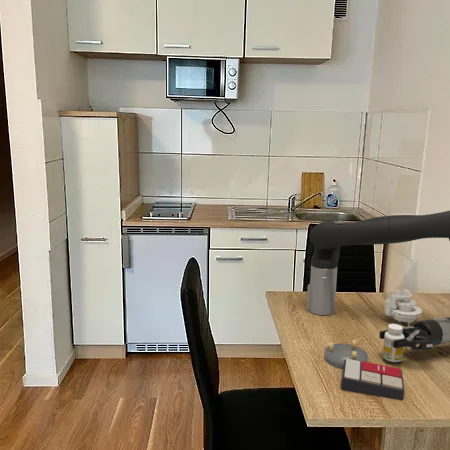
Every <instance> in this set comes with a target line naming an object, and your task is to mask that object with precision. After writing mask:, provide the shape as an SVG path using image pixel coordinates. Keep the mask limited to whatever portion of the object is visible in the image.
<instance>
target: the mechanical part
mask: <svg viewBox="0 0 450 450" xmlns="http://www.w3.org/2000/svg"><path fill="white" fill-rule="evenodd" d="M412 298H413V294H412V292H410V290H409V289H405V288H402V287H401V288H399V289H398V288H397V290H396V291H395V292H390V291H389V292H387V293H386V299H385V301H384V309H383V310H384V314H385V317H391V318H393V319H394V321H395V322H397V323H398V322H402V323H403V322H404V323H407V326H410V325H411V324H413V322H414V321H416V320H417V318H420V317H421V316H422V313H423V310H422V309H421V307H419V306H417V301H415V300H414V299H412Z"/></svg>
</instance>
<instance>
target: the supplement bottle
mask: <svg viewBox="0 0 450 450" xmlns="http://www.w3.org/2000/svg"><path fill="white" fill-rule="evenodd" d="M387 328H388V331H387V332H386V333H385V336H384V339H383V349H382V357H383V359H385V360H386V361H387V362H391V363H398V362H401V361H402V360H403V356H404V348H405V347H401V348H394V347H393V341H394V340H398V339H404V335H403V334H402V332H403V327H402V326H400V325H398V324H394V323H390V324H388V325H387Z"/></svg>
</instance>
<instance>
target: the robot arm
mask: <svg viewBox="0 0 450 450" xmlns="http://www.w3.org/2000/svg"><path fill="white" fill-rule="evenodd" d="M431 238H432V239H448V241H449V242H450V209H449V210H446V211H441V212H436V213H430V214H422V215H421V214H397V215H394V214H393V215H384V216H383V215H381V216H376V217H370V218H367V219H362V220H359V221H355V222H352V223H351V222H350V223H343V224H337V223H336V222H335V221H333V220H324V221H320V222H319V223H318V224H316V225H314V227H313V228H312V229H311V231H310V233H309V239H310V243H311V244H312V245H313V246H314V250H313V254H312V257H311V262H310V281H309V283H308V285H307V292H306V310H308V311H309V312H310V313H312V314H314V315H319V316H331V315H333V314H334V313H335V308H336V295H337V279H338V262H339V258H340V253H341V247H346V246H355V245H356V246H358V245H359V246H363V245H364V246H366V245H367V246H369V245H370V246H371V245H388V244H389V245H390V244H399V243H400V244H401V243H406V242H407V243H408V242H412V241H417V240H422V239H431ZM393 324H398V325H400V326H402V327H403V332H402V334H403V335H404V339H398V340H394V341H393V347H394V348H401V347H404V348H407V349H411V350H412V351H428V350H429V351H430V350H433V346H439V345H444V344H447V343H450V316H449V317H435V318H429V319H423V320H418V321H417V322H416V323H415V324H413V325H412V326H408V325H407V326H405V325H403V324H404V323H403V322H402V321H400V322H398V321H397V322H395V323H393ZM387 331H388V327H387V329H386V330H380V331H379V335H378V337H379V339H381V340H384V336H385V333H386V332H387Z"/></svg>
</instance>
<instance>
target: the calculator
mask: <svg viewBox="0 0 450 450" xmlns="http://www.w3.org/2000/svg"><path fill="white" fill-rule="evenodd" d="M403 377H404V376H403V370H401V368H399V367H394V366H390V365H389V366H388V365H384V364H378V363H374V362H369V361H367V362H364V361H362V362H360V361H356V360H351V359H345V360H344V367H343V369H342V377H341V385H340V390H341V391H345V392H351V393H357V394H359V393H361V394H366V395H371V396H375V397H379V398H380V397H381V398H386V399H393V400H399V401H403V399H404V396H405V395H404V394H405V386H404V385H405V384H404V378H403Z"/></svg>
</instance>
